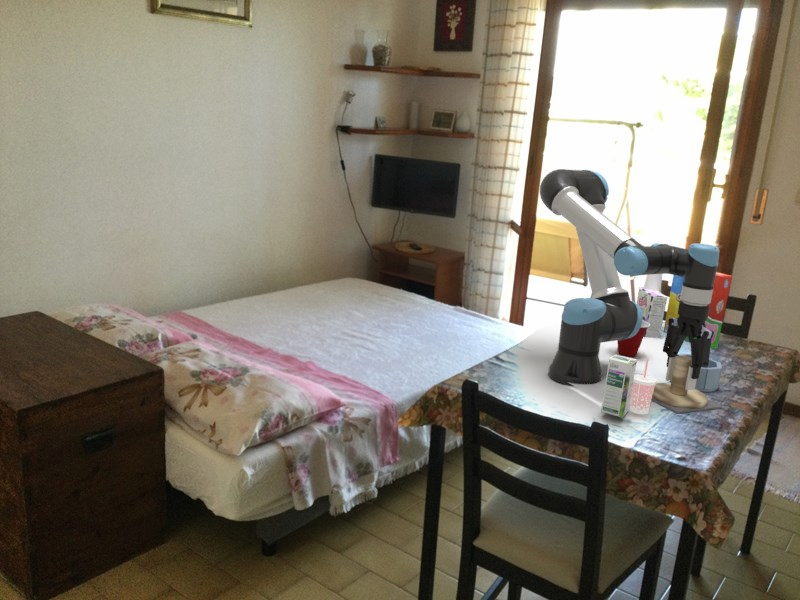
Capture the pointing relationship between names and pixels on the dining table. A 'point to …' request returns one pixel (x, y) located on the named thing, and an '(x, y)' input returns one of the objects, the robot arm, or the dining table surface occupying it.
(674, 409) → the mat
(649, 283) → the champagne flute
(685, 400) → the lid
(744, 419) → the dining table surface
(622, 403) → the syrup box
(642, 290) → the candy box
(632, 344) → the plastic cup
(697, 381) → the bowl
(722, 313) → the game box
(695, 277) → the robot arm
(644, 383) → the beverage cup
